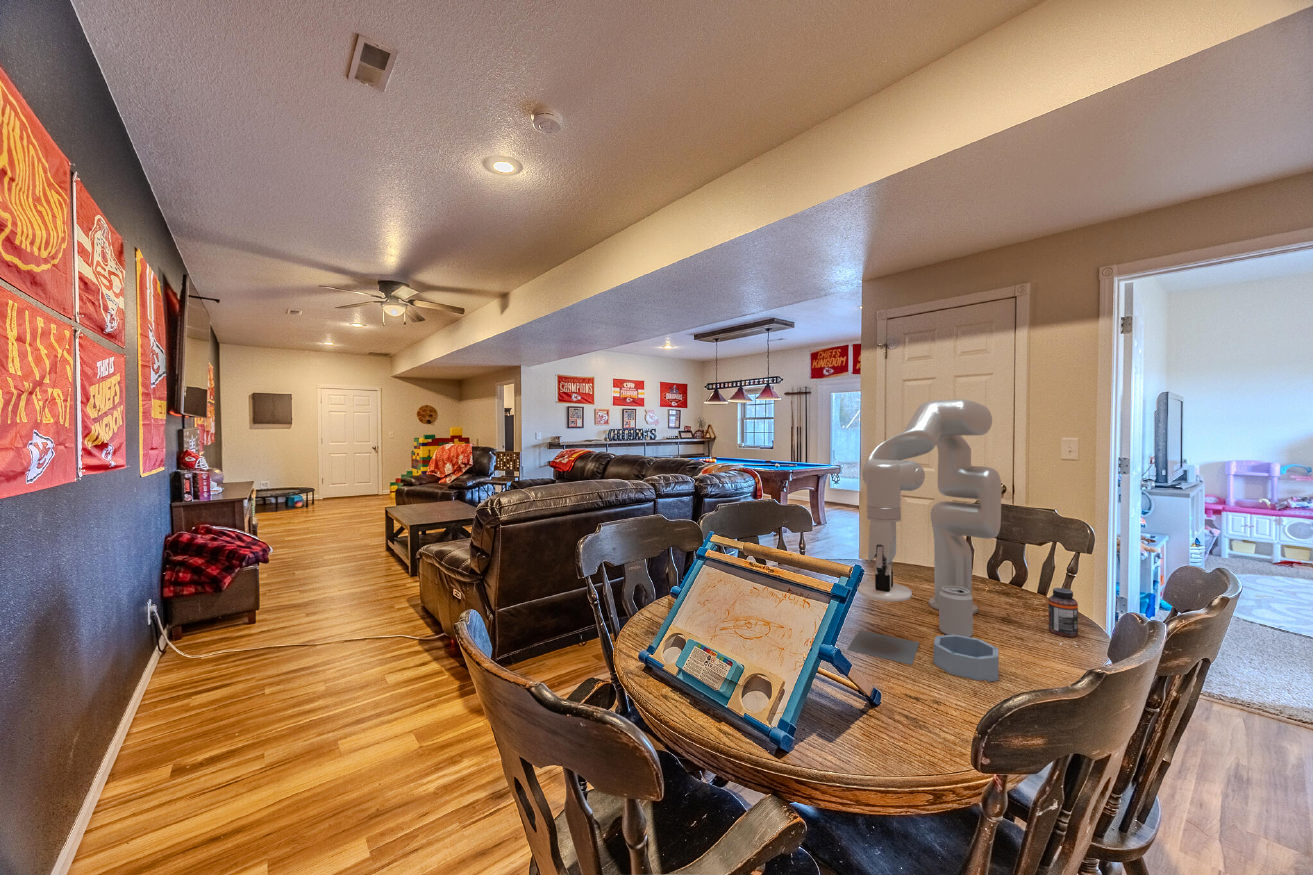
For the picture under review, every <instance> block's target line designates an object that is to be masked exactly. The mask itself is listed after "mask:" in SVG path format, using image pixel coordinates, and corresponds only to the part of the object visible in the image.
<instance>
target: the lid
mask: <svg viewBox="0 0 1313 875" xmlns="http://www.w3.org/2000/svg"><path fill="white" fill-rule="evenodd" d="M883 566H885V567H886V565H883ZM891 571H892V570H891V564H889V575H890V591H889V592H884V591H878V590H876V589H875V580H869V581H868V580H867V581H862V582H859V584H860V585H859V587H858V586H857V592H858V594H860V595H862V596H863V597H867V598H869V599H873V600H877V601H884V602H902V601H903V602H904V601H908V600H910V599H911V598H912V597H913V592H912V590H911V589H910V588H909V587H907V586H905V585H902V584H899V583H895V582H893V587H891Z"/></svg>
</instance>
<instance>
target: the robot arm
mask: <svg viewBox="0 0 1313 875" xmlns="http://www.w3.org/2000/svg"><path fill="white" fill-rule="evenodd" d="M992 424H993V415H992V413H991V411H990V409H989V408H988V407H987V406H985V405H983V404H981V403H978V402H975V401H972V400H969V399H964V398H959V399H958V398H957V399H935V400H928V401H925V402H923V403H921V404H920V405H919V406H918V408H917V409H916V411H915V412H914V414H913V416H912V417H911V419H910V421H909V422H908V424H907V425H906V426H905V427H904V428H905V429H904V430H903V431H901V432H899V433H898V434H895V435H893V436H892V437H890V438H888V439H886V440H884V441H883V442H880V444H878V445H877V446H876V447H874V448H873V450H872V451H871V452H870V454H869V456H868V457H867V459H866V460H865V463H864V465H863V468H862V474H861V475H862V476H861V477H862V480H863V481H864V482H863V483H865V484H866V519H867V520H869V530H868V532H869V533H868V550H867V551H868V552H867V553H868V554H867V555H868V556H867V558H868V561H869V562H872V561H874V559H875V569H874V570H875V571H874V572H875V574H874V581H875V589H876V590H878V591H884V592H889V591H890V575H889V564H891V587H893V583H894V571H893V560H894V559H895V557H896V556H897V554H896V553H897V523H898V522H900V521H902V518H901V517H902V514H901V513H902V512H901V510H902V509H901V508H902V507H901V504H902V500H901V499H902V498H901V495H902V494H901V492H902V491H903V492H904V491H906V492H911V491H916V490H918V489H919V488H921V487H922V485H923V484H924V481H925V478H926V475H925V474H926V473H925V470H924V468H923V466H922V465H921V464H919V463H918V462H915V461H913V460H907V459H912V458H916V457H920V456H923V455H926V454H928V453H930V452H932V451H933V450H934V449H935V447H936V448H937V489H938V492H939V493H940V494H941V495H943V496H946V497H951V498H957V499H959V498H960V499H972V500H978V504H977V503H972V502H971V503H970V502H968V503H967V502H962V501H961V502H960V501H951V500H950V501H948V500H947V501H939V502H936V503H935V504H934V505H933V506H932V507H931V510H930V521H931V522H930V523H931V527H932V531H933V542H934V543H933V544H934V545H933V546H934V549H933V550H934V551H933V552H934V554H933V555H934V558H933V559H934V561H933V562H934V569H933V570H934V596H933V597H931V598H929V599H928V605H929V606H930V607H931V608H933V609H935V610H937V611H939V592H940V591H941V590H942V587H943V586H958V587H962V588H966V589H968V590H969V591H970V593H969V594H970V595H971V596H972V597H973V595H972V588H973V587H972V586H973V584H972V577H973V576H972V550H971V546H970V544H969V542H968V541H967V540H966V538H965V537H964V536H966V537H970V538H971V537H972V538H978V539H979V538H980V539H985V540H986V539H988V540H990V539H994V538H996V537H997V536H998V535H999V534H1000V530H1001V523H1002V480H1001V475H1000V473H999V472H998V470H996V469H995V468H993V467H989V466H978V465H976V466H974V465H972V448H971V447H970V445H969V443H968V442H967V441H966V439H965V438H964V437H963V436H973V437H974V436H976V437H977V436H984V435H986V434H987V433H989V431H990V430H991V428H992V426H993V425H992ZM883 565H886V567H885V566H883ZM978 612H979V607H978V605H976V604H975V603H974V602H973V615H975V614H977V613H978Z"/></svg>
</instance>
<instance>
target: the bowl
mask: <svg viewBox="0 0 1313 875" xmlns="http://www.w3.org/2000/svg"><path fill="white" fill-rule="evenodd" d="M933 641H934V642H933V664H934V665H935V666H937V667H939V668H940V669H942V670H943V671H945V672H947V673H948V674H950V675H952V676H953V675H954V676H957V677H960V678H966V679H970V680H974V681H986V682H987V683H990V682H997V681H999V675H1000V674H999V672H1000V671H999V670H1000V669H999V668H1000V667H999V660H1000V659H999V648H998V647H996V646H994V645H993V644H990V643H988V642H986V641H984V640H982V639H980V638H975V637H972V636H971V637H965V636H960V635H955V634H953V635H946V634H944V635H936V636H935V638H934V640H933Z"/></svg>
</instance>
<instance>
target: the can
mask: <svg viewBox="0 0 1313 875" xmlns="http://www.w3.org/2000/svg"><path fill="white" fill-rule="evenodd" d="M969 593H970V591H969V590H968V589H966V588H962V587H958V586H943V587H942V590H941V591H940V592H939V610H938V626H939V627H938V629H939V631H940V632H942V634H944V635H953V634H955V635H960V636H965V637H971V638H972V637H973V634H974V628H973V627H974V617H973V616H974V614H973V603H974V602H973V601H974V600H973V599H974V597H973V595H972V596H971V595H970V594H969Z"/></svg>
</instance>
